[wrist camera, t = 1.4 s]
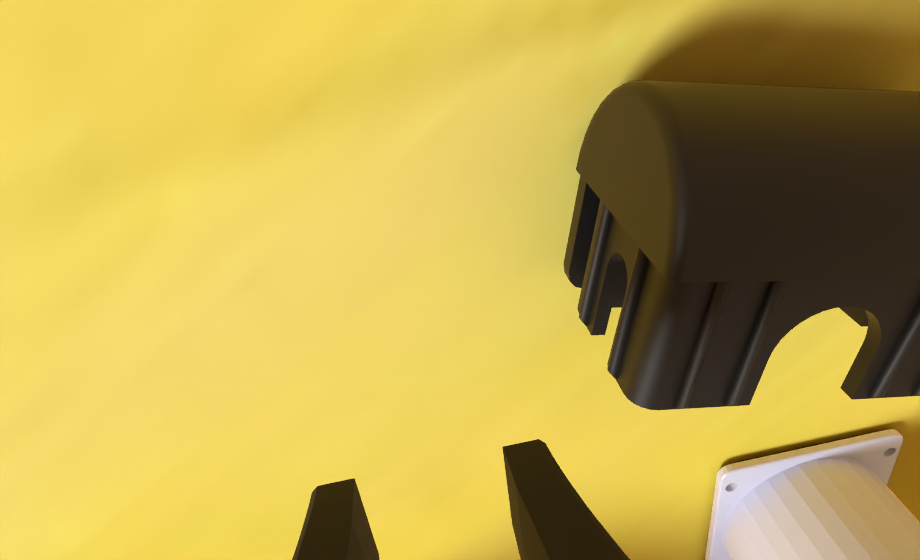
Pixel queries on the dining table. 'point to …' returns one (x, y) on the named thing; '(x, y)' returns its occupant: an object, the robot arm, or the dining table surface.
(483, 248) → the dining table surface
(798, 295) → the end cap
